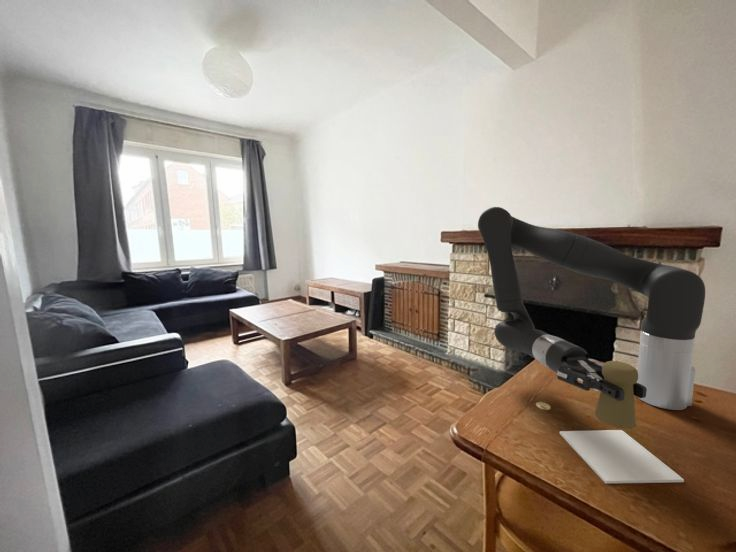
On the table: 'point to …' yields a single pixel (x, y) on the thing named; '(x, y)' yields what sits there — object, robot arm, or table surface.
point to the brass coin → (543, 405)
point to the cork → (610, 408)
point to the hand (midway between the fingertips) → (633, 394)
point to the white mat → (619, 457)
